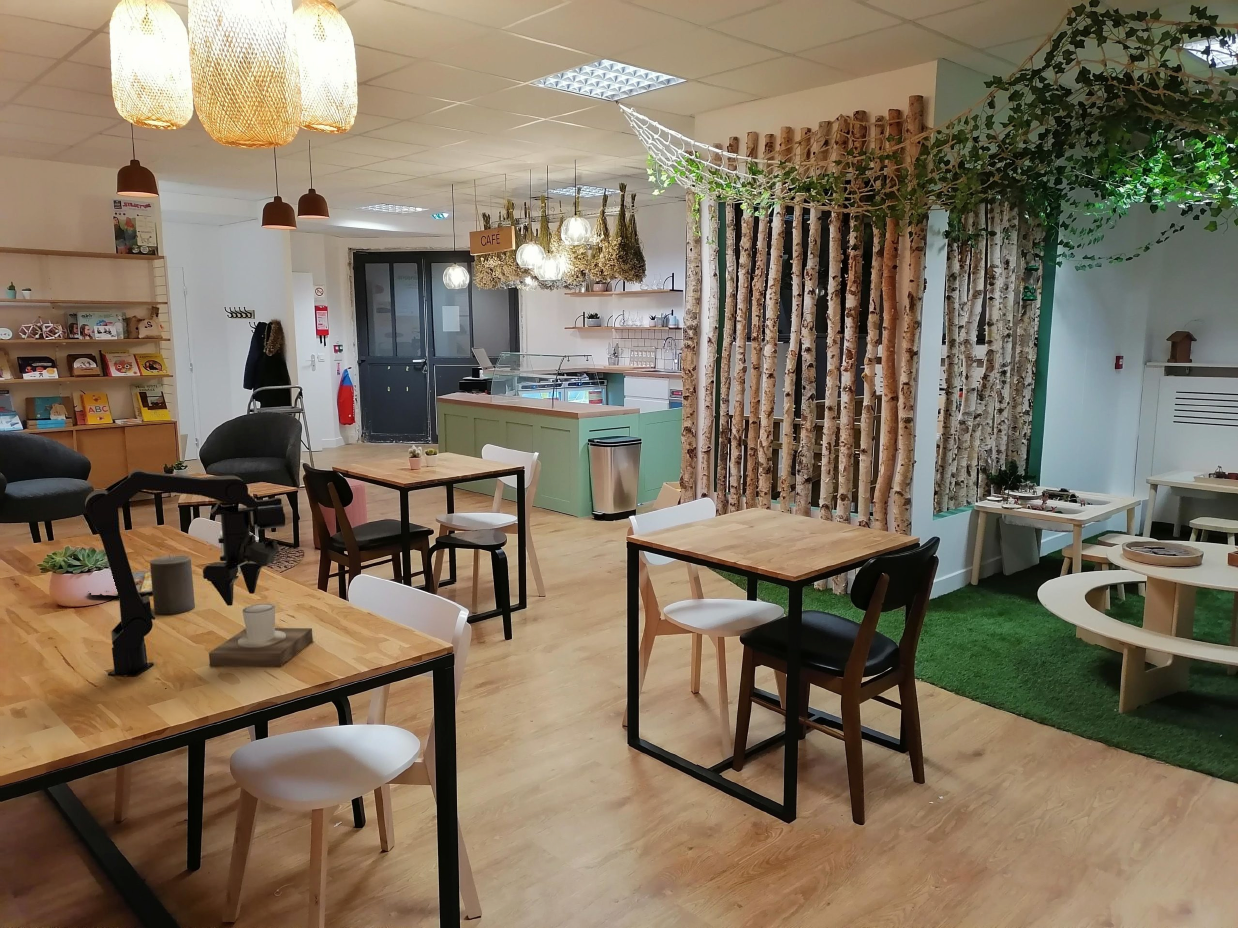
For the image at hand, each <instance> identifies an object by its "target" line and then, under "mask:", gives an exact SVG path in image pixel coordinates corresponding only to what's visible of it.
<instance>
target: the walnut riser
mask: <svg viewBox="0 0 1238 928" xmlns="http://www.w3.org/2000/svg"><path fill="white" fill-rule="evenodd" d="M313 637H314V636H313V628H311V627H308V628H307V627H304V628H300V627H275V637H274V638H273V639H270V640H267V641H263V642H250V641H248V637H247V632H246V627H245V628H243V629H242V630H241V631H239V632H238V633H236V634H235V635H234V636H232V637H231V638H228V639H227V640H226V641H224V642H223V643H222V644H220V645H218V646H217V647H215V648H214V649H213V650H211V651H209V652H208V659H209V661H208V662H209V666H210V667H282V666H283V665H285V664H286V663H287V662H288V661H290V660H291V659H292V658H293V657H295V654H296V653H297V652H298V653H299V652H301V651H302V650H303V649H304V648H306V647H307V646H308V645H309V644H310V643H312V642H313V641H314V638H313ZM311 641H312V642H311ZM305 646H306V647H305ZM301 649H302V650H301ZM300 650H301V651H300ZM298 653H297V654H298ZM297 654H296V655H297ZM292 656H293V657H292ZM291 657H292V658H291ZM290 658H291V659H290ZM289 659H290V660H289ZM286 661H287V662H286ZM285 662H286V663H285ZM284 663H285V664H284ZM282 664H283V665H282ZM281 665H282V666H281Z"/></svg>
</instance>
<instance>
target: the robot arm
mask: <svg viewBox="0 0 1238 928" xmlns="http://www.w3.org/2000/svg"><path fill="white" fill-rule="evenodd" d="M144 490H145V491H151V492H163V493H173V494H184V495H193V496H201V497H205V498H209V499H210V500H211V499H212V500H214V501H218V502H217V503H216V505H215V506H214V507H213V508H211V510H210V513H211V514H212V516H220V524H221V531H222V538H220V537H219V538H218V544H221V543H223V551H224V555H223V556H222V555H220V556H219V561H214V562H212V563H209V564H207V565H206V566H205V567H204V568H203V569H202V579H204V580H207V582H210V583H211V584H212V586H213V587H214V588H215V589H216V591H217V592H218V593H219V595H220V597H221V598H222V600H223V601H224V602H225V604H226V605H227V606H228V607H229V606H230V607H232V606H233V605H234V589H235V588H234V586H235V585H234V583H235V582H236V581H237V579H238V578H239V577H240V576H239V575H238V574H237V573H238V567H239V566H240V569H241V572H242V573H241V574H242V577H243V581H244V583H245V585H246V587H245V588H246V589H247V591H248V593H249V594H250V595H251V594H252V595H253V594H255V592H256V588H257V584H258V580H259V576H260V573H261V570H262V569H263V568H264V567H267V566H269V565H270V564H274V562H275V559H276V556H277V555H278V554H280V552H279V545H278V541H277V540H275V539H272V538H271V539H268V540H267V541H265V543H264V542H263V541H262V542H259V541H257V540H256V536H255V534H254V533H253V534H251V529H250V522H251V525H252V527H254V526H256V528H257V530H265V529H274V528H283V527H285V526H286V513H285V510H284V506H283V504H282V502H283V501H282V498H281V497H272V498H269V499H268V498H267V499H256V497H254V496H253V495H250V493H249V488H248V485H247V484H246V482H245V481H243V480H242V479H241V478H240V477H238V476H235V475H216V476H209V477H204V476H203V477H198V476H192V475H190V476H189V475H182V474H171V473H164V472H154V471H146V470H143V469H134V470H132V471H131V472H130V473H129V474H127V475H126V476H124V477H122V478H121V479H119V480H117V481H115V482H114V483H112V484H111V485H109V486H107V487H106V488H104V489H103V488H102V489H96V490H94V491H92V492H90V493H89V494H88V495H87V497H86V498H85V504H84V505H85V513H86V514H87V517H88V518H89V520H90V522H91V524H92V525H93V527H94V528H95V530H96V532H97V533H98V535H99V537H100V540H101V543H102V546H103V550H104V552H105V555H106V559H107V563H108V566H109V569H110V572H111V576H113V579H114V582H115V586H116V589H117V592H118V593H117V594H118V596H117V597H118V601H119V603H118V604H119V613H120V621H119V622H118V624H117V625H115V627H114V628H112V630H110V632H111V633H110V634H111V644H112V647H111V655H112V662H113V663H112V665H113V670H111V671H109V672H107V676H108V677H109V676H111V677H112V676H113V677H114V676H117V677H118V676H119V677H121V676H122V677H126V676H127V677H128V676H129V677H131V676H132V677H134V676H135V677H136V676H138V675H140V674H141V673H143V672H145V671H147V670H148V669H150V668H151V667H152V666H154V664H155V663H154V661H153V662H148V654H147V647H146V645H147V644H146V643H145V637H146V636H147V635H148V634H150V632H151V631H152V629H153V620H156V615H155V612H154V609H152V607H151V606H152V605H151V601H150V595H148V594H146V595H145V596H141V595H142V594H139V590H137V588H136V584H135V581H134V578H133V574H132V572H133V571H132V568H131V564H130V562H129V559H128V558H129V556H128V554H127V551H126V548H125V547H126V546H125V545H124V541H123V538H122V534H121V530H120V529H121V528H120V515H119V513H120V512H119V507H121V506H123V505H124V504H126V503H127V502H128V501H129V500H131V499H132V498H133V497H135V496H136V495H137V494H138V493H140V492H141V491H144ZM220 502H221V503H226V504H228V505H222V504H221V503H220ZM229 504H230V505H229ZM239 504H240V505H242V506H244V507H238V505H239ZM249 513H250V516H249ZM223 561H226V562H223ZM235 563H236V564H235Z"/></svg>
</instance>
